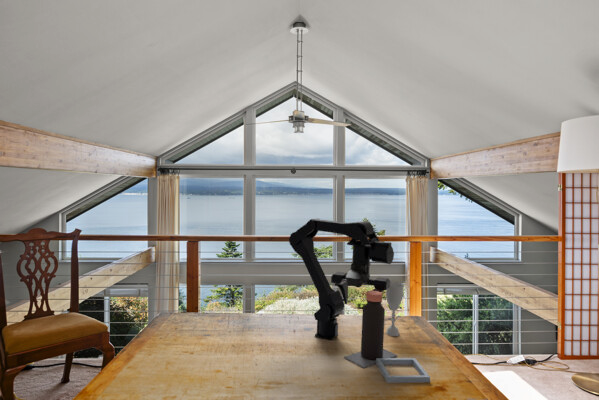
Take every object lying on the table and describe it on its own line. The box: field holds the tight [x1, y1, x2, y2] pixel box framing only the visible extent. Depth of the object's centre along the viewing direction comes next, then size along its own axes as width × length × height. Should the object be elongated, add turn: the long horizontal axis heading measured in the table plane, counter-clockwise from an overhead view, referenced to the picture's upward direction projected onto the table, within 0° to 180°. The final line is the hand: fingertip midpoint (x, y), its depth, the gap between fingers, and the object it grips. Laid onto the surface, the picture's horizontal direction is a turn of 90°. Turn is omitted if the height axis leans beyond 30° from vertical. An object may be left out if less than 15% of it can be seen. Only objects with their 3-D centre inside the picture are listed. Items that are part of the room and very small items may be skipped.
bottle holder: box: [375, 357, 431, 384], centre depth 122 cm, size 12×12×2 cm
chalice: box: [385, 281, 405, 337], centre depth 152 cm, size 7×7×18 cm
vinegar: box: [360, 290, 386, 360], centre depth 131 cm, size 7×7×20 cm
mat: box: [343, 348, 398, 369], centre depth 131 cm, size 8×15×1 cm, turn 127°
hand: (359, 306), depth 140 cm, fingers open, 9 cm apart
